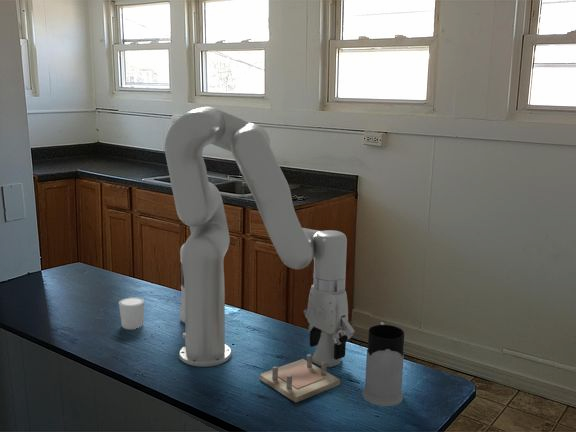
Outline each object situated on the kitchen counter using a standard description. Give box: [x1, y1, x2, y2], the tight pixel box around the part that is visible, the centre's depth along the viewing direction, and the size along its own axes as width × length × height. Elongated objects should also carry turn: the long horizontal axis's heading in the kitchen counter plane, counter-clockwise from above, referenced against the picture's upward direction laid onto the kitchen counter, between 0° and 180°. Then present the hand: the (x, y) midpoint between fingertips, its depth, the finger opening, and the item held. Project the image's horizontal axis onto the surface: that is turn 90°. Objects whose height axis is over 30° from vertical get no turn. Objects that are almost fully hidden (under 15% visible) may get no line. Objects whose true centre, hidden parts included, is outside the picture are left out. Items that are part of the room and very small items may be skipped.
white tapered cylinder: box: [118, 296, 146, 330], centre depth 167 cm, size 7×7×7 cm
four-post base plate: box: [258, 353, 341, 403], centre depth 138 cm, size 13×13×4 cm
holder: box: [362, 322, 405, 407], centre depth 134 cm, size 9×14×15 cm, turn 177°
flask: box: [312, 330, 343, 368], centre depth 148 cm, size 7×7×10 cm
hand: (327, 351), depth 149 cm, fingers open, 8 cm apart
